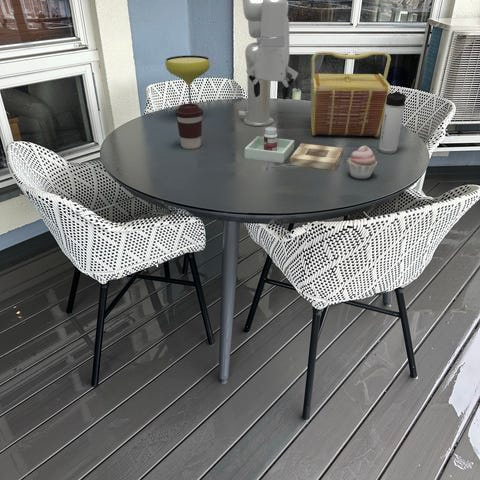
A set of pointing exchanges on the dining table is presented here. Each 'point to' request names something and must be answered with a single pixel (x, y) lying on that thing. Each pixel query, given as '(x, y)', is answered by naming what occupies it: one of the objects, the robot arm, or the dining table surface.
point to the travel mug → (392, 122)
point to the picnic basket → (348, 100)
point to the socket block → (316, 156)
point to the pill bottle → (270, 139)
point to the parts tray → (258, 153)
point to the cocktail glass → (188, 68)
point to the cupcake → (362, 163)
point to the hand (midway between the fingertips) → (271, 97)
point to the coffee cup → (189, 125)
